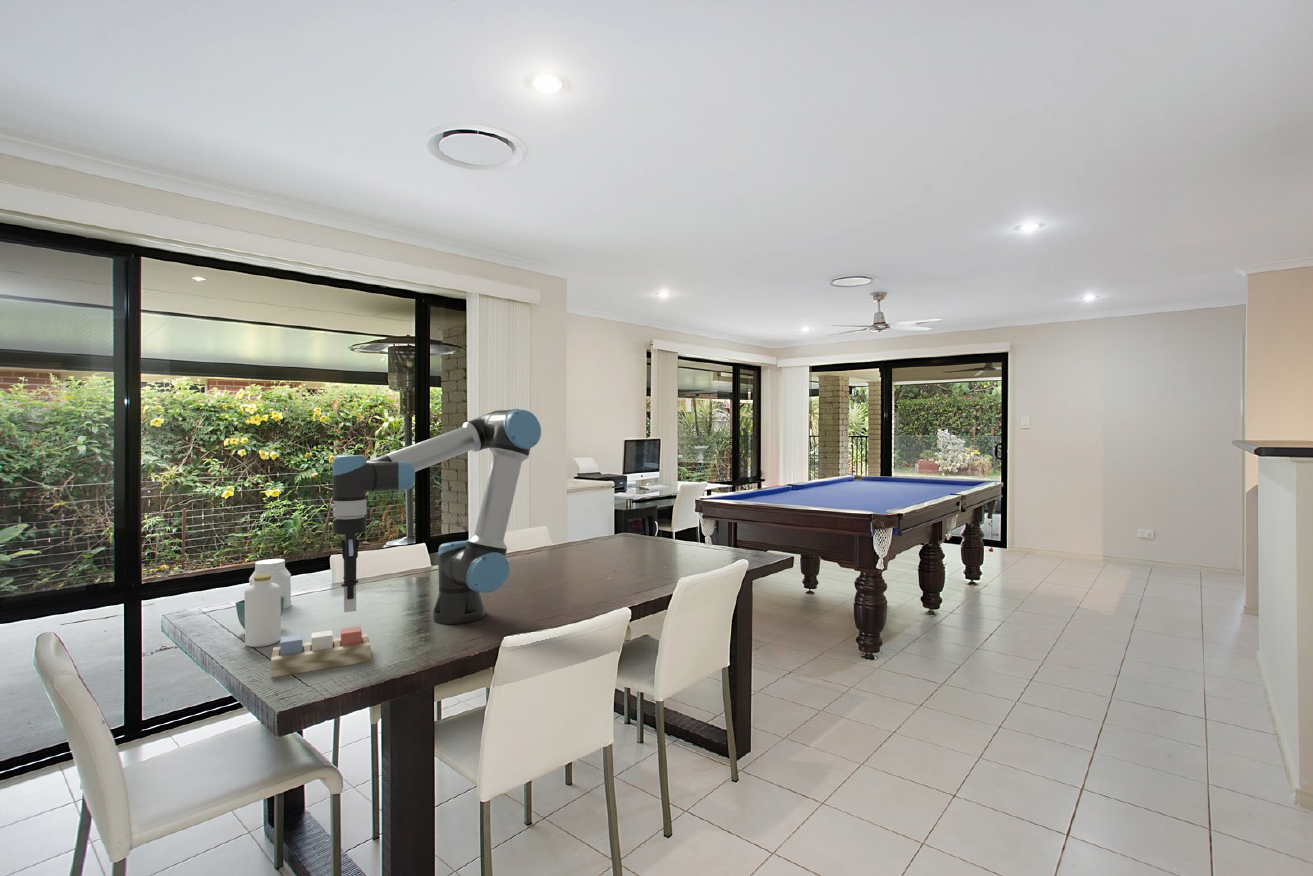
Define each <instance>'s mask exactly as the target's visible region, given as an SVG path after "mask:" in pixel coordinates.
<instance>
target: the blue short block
mask: <svg viewBox="0 0 1313 876" xmlns="http://www.w3.org/2000/svg"><path fill="white" fill-rule="evenodd" d="M279 641H280V642H279V644H280V656H282V655H288V654H295V653H302V652H303V643H304V642H303V634H296V635H295V634H294V635H289V636H281V639H280V640H279Z"/></svg>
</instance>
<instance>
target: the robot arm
mask: <svg viewBox="0 0 1313 876" xmlns="http://www.w3.org/2000/svg"><path fill="white" fill-rule="evenodd" d="M541 436H542V427H541V424H540V421H539V420H538V417H537V416H536V415H535V414H533V412H531V411H529V410H526V409H519V408H514V409H503V410H502V409H499V410H493V411H490V412H489V413H486V414H483V415H481V416H479V417H475V418H473V419H471V420H469V421H465V422H464V423H463V424H462V427H459V428H456V429H454V430H451V431H448V432H445V433H442V434H440V435H436V436H433V437H432V438H428V439H426V440H423V441H420V442H417V443H415V444H411V445H408V446H406V447H403V448H400V449H397V450H395V451H392V452H389V453H386V454H384V455H380V456H378V457H376V458H373V459H367V457H366V456H365V455H362V454H359V455H357V454H356V455H355V454H353V455H352V454H350V455H349V454H348V455H347V454H343V455H342V454H341V455H336V456H335V457H334V459H333V462H332V473H331V476H332V502H333V503H332V504H330V506H329V507H330V509H332V516H333V517H334V518H333V519H332V532H333V534H335V535H343V539H341V540H340V547H341V557H342V559H343V578H342V579H343V583H341V587H342V588H343V613H350V612H357V584H358V583H359V579H357V559H358V557H359V547H360V541H359V539H358V538H356V534H361V533H362V534H363V533H365V532H366V531H367V517H365V515H367V493H373V492H387V491H388V492H389V491H399V492H401V491H404V490H410V489H411V488H412V487H413V486H414V483H415V481H416V472H418V471H420V470H423V469H426V468H429V467H432V466H433V465H437V464H439V463H442V462H445V461H447V460H449V459H452V458H454V457H458V456H460V455H462V454H465V453H468V452H470V451H472V452H475V453H476V452H477V453H478V452H479V451H482V450H486V449H489V451H490V452H491V455H492V460H491V464H490V469H489V472H488V477H487V479H486V485H485V489H484V493H483V497H482V500H481V505H480V510H479V514H478V517H477V522H476V526H475V530H474V533H473V536H472V537H470V538H468V539H467V540H458V541H451V542H450V541H449V542H446V543H445V542H444V543H442V544H440V545H439V547H438V553H437V559H438V560H437V561H438V567H437V568H438V596H437V597H436V601H435V605H434V607H433V609H432V610H433V611H432V620H433V622H435V623H439V624H446V625H455V624H456V625H458V624H467V623H471V622H475V621H478V620H480V619H482V618H483V617H485V615H486V610H485V608H486V607H485V604H484V601H483V599H482V595H481V593H485V594H489V593H492V592H495V591H497V590H498V589H499V588H501V587H502V586H503V585H504V584H505V583H506V581H507V579H508V577H509V574H510V563H509V562H508V559H507V558H506V555H507V550H508V547H507V544H506V543H505V542H504V540H505V536H506V532H507V528H508V523H509V519H510V515H511V511H512V506H513V503H514V502H513V501H514V497H515V493H516V490H517V486H518V484H517V483H518V482H519V476H520V472H521V467H522V464H523V462H524V461H526V460H527V459H528V458H529V456H530V451H531V448H534V447H535V446H536V445H537V444H538V443H539V442H540V439H541Z"/></svg>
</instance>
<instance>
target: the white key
mask: <svg viewBox="0 0 1313 876" xmlns="http://www.w3.org/2000/svg"><path fill="white" fill-rule="evenodd" d="M333 639H334V638H333V629H332V630H322V631H317V632H311V642H312V651H315V650H322V649H328V648H333Z"/></svg>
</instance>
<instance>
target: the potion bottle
mask: <svg viewBox="0 0 1313 876" xmlns="http://www.w3.org/2000/svg"><path fill="white" fill-rule="evenodd" d="M271 581H272V578H271V575H259V576H255V577H254V580H253V583H254V584H253V585H251V586H250V585H249V586H248V587H246V588H245V590H244V594H243V595H244V599H243V600H245V629H244V643H245V645H246V646H248V647H251V648H261V647H262V648H263V647H267V646H270V645H274V644H276V643H278V642H279V641H281V637H282V615H281V589H280V586H279V585H278V584H275V583H272V582H271Z"/></svg>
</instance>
